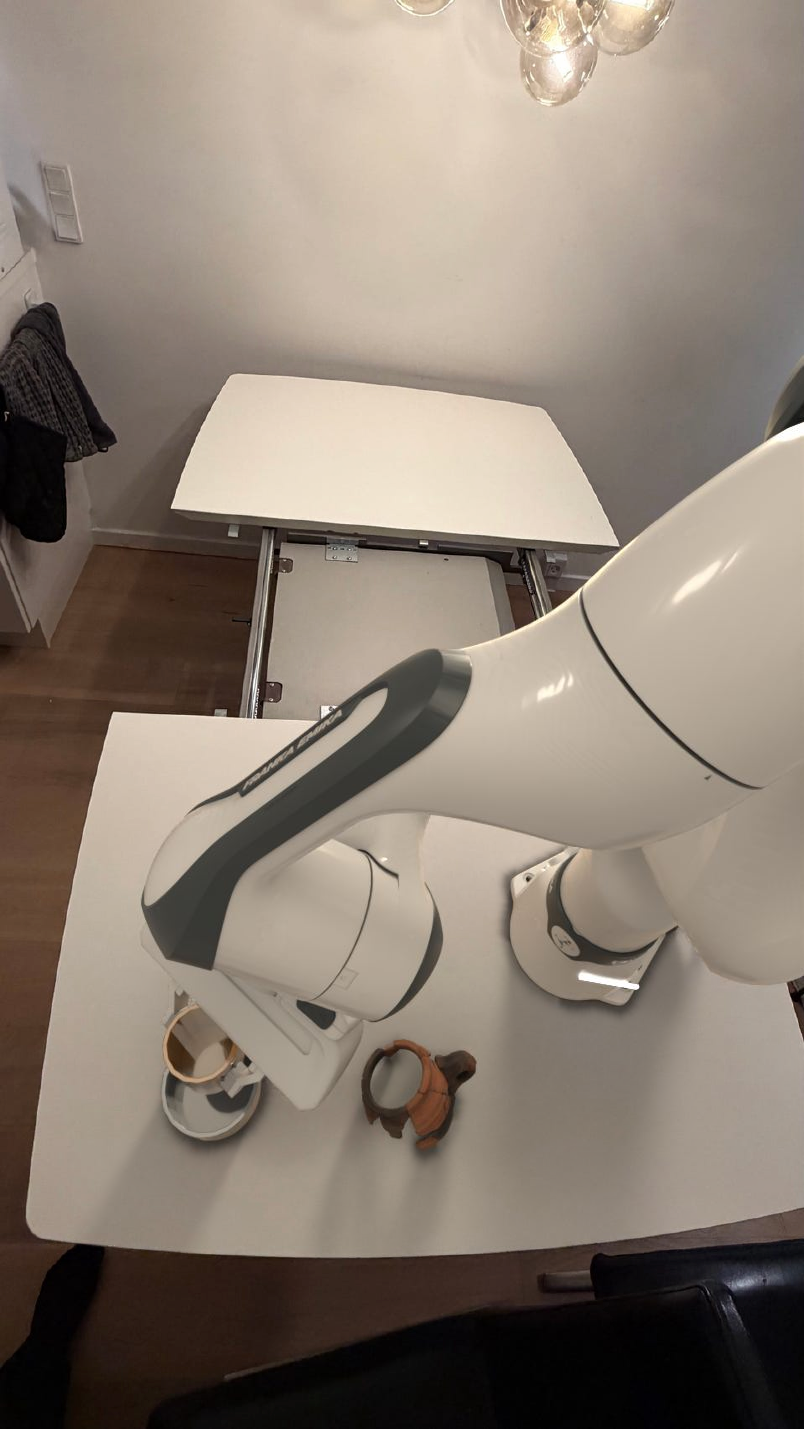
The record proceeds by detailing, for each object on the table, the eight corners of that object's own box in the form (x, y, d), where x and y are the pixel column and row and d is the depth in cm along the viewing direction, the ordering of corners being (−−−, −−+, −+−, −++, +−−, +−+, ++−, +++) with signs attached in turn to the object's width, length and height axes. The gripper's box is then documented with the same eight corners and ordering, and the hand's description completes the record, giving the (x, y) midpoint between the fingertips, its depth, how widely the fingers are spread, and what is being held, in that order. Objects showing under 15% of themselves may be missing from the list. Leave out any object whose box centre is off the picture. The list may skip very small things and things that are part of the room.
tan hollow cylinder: (223, 1010, 62) (214, 987, 55) (256, 1063, 60) (251, 1048, 53) (166, 1052, 60) (149, 1034, 52) (199, 1109, 57) (186, 1100, 50)
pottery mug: (402, 1178, 66) (374, 1148, 61) (367, 1092, 74) (339, 1059, 69) (503, 1107, 68) (483, 1072, 63) (458, 1030, 76) (438, 994, 71)
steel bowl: (232, 1023, 72) (226, 1011, 66) (277, 1097, 68) (276, 1090, 63) (155, 1081, 68) (143, 1073, 62) (200, 1162, 64) (191, 1161, 59)
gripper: (169, 856, 52) (91, 984, 55) (363, 1044, 47) (265, 1175, 50) (218, 841, 58) (145, 957, 61) (396, 1006, 53) (306, 1125, 56)
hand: (200, 1056), depth 55 cm, fingers closed on tan hollow cylinder, 6 cm apart
